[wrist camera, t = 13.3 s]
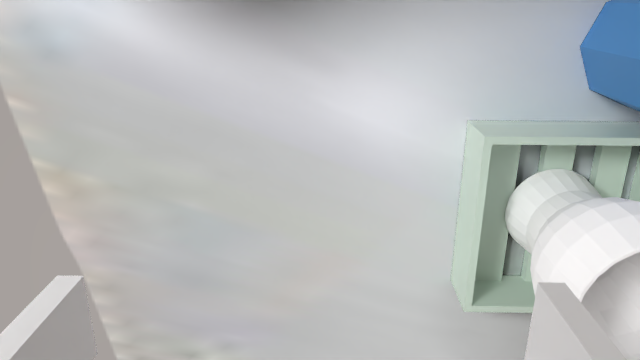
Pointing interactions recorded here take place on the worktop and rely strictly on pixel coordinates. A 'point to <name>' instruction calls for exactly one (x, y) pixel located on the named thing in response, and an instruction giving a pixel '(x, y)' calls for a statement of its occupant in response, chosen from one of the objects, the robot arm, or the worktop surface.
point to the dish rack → (499, 183)
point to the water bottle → (615, 53)
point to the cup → (583, 248)
